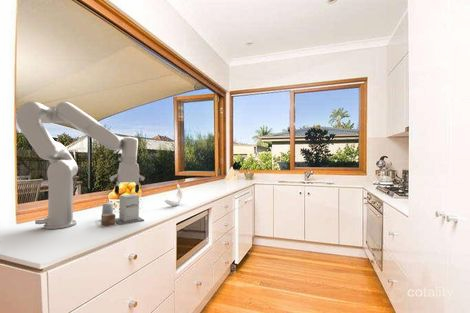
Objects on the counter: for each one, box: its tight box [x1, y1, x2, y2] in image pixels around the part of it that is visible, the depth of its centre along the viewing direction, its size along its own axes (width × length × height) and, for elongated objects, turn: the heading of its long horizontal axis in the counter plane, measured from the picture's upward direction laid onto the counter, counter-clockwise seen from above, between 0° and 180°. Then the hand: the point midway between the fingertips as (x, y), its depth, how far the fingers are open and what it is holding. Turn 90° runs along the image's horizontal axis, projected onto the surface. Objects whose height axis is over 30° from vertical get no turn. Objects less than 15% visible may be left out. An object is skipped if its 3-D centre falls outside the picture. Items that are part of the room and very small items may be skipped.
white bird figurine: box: [164, 183, 183, 207], centre depth 164 cm, size 5×19×15 cm, turn 166°
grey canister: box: [101, 202, 114, 215], centre depth 125 cm, size 5×5×8 cm
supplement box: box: [118, 193, 140, 221], centre depth 123 cm, size 7×7×13 cm
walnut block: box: [100, 212, 116, 227], centre depth 115 cm, size 5×5×5 cm
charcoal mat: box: [115, 216, 145, 225], centre depth 123 cm, size 12×12×1 cm
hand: (127, 193), depth 122 cm, fingers open, 9 cm apart
